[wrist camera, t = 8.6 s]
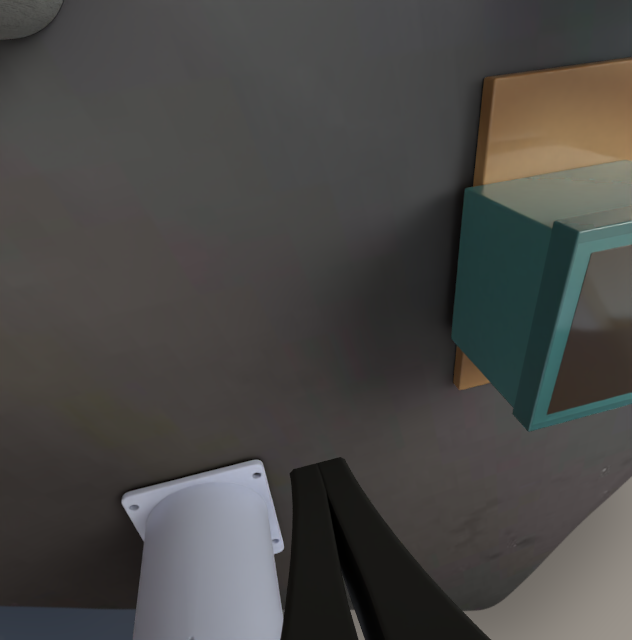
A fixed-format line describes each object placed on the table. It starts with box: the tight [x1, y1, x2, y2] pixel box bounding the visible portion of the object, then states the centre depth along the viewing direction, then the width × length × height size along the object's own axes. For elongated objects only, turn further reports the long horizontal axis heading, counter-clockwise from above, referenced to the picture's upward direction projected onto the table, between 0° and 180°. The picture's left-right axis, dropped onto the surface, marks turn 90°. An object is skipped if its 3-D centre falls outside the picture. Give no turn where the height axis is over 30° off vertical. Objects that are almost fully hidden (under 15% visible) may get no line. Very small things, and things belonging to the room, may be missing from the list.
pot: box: [451, 160, 632, 432], centre depth 18 cm, size 9×6×8 cm
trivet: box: [453, 57, 632, 390], centre depth 21 cm, size 16×12×1 cm
